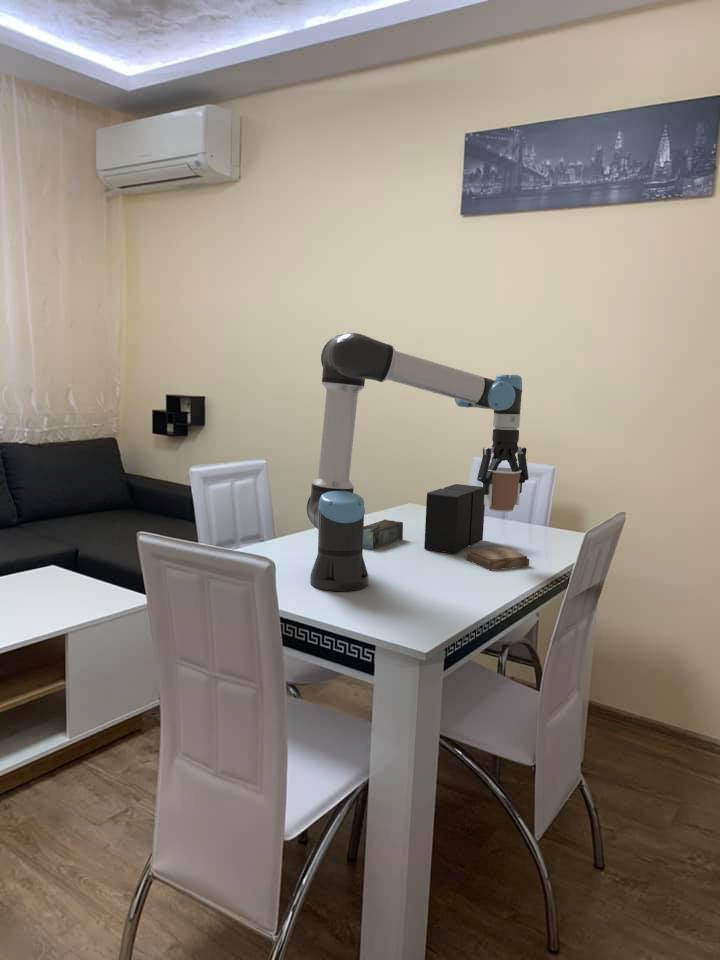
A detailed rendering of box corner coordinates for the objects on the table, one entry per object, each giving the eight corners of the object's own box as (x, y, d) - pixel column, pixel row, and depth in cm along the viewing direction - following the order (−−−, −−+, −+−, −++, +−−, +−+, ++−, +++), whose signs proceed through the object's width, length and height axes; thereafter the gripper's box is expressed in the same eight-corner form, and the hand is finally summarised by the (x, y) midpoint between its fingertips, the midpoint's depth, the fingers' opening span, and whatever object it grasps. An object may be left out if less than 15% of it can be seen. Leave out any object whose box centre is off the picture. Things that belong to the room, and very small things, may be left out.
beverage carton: (352, 546, 223) (352, 526, 222) (383, 536, 239) (384, 517, 238) (373, 550, 219) (373, 530, 218) (403, 540, 235) (404, 521, 234)
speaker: (453, 536, 243) (456, 483, 240) (482, 540, 237) (485, 486, 235) (423, 550, 221) (426, 492, 219) (454, 555, 216) (457, 496, 213)
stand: (489, 570, 200) (489, 560, 199) (466, 559, 210) (466, 550, 210) (528, 566, 205) (529, 556, 205) (504, 556, 216) (505, 547, 216)
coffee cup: (525, 510, 205) (528, 470, 203) (506, 514, 198) (509, 472, 196) (496, 505, 212) (498, 466, 210) (476, 509, 205) (478, 468, 203)
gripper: (481, 429, 194) (477, 509, 197) (544, 429, 202) (539, 505, 206) (467, 427, 201) (463, 504, 204) (528, 427, 209) (524, 501, 213)
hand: (501, 504), depth 205 cm, fingers closed on coffee cup, 9 cm apart
